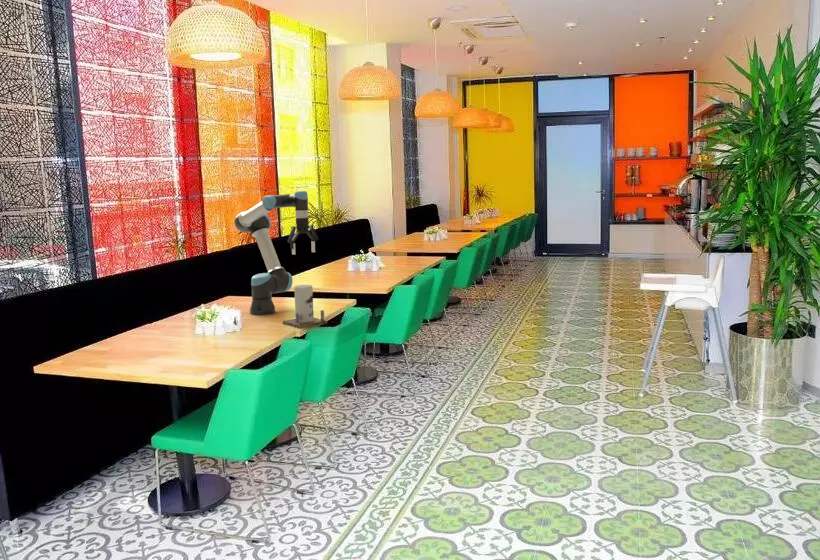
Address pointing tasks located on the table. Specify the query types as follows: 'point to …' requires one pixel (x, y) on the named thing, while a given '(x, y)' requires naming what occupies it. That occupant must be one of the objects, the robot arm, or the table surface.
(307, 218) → the robot arm
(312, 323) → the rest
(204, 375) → the table surface
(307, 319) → the container
